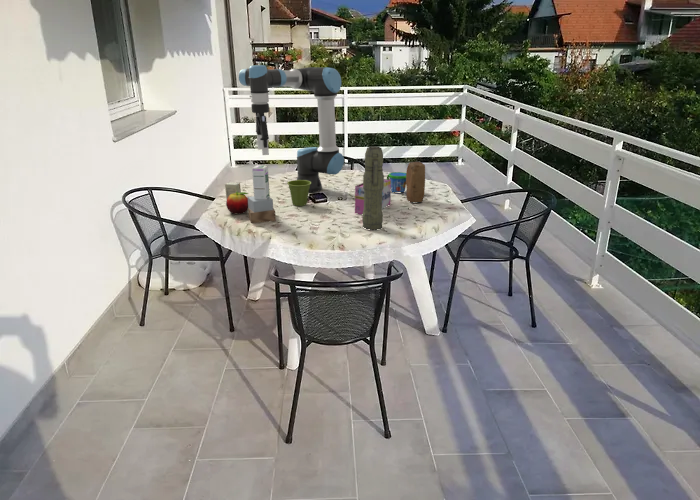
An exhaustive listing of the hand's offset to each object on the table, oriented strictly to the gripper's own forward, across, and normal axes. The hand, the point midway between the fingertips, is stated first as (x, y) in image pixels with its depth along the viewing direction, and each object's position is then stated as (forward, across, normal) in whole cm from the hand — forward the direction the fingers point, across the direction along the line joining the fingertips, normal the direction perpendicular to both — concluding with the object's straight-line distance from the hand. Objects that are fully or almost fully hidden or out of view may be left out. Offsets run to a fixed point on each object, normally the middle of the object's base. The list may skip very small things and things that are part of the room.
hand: (263, 152), depth 234 cm
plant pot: (+30, -14, +19) cm, 38 cm away
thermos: (+30, +31, +41) cm, 60 cm away
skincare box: (+30, -17, -13) cm, 37 cm away
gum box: (+31, +5, +51) cm, 60 cm away
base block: (+30, +4, -3) cm, 30 cm away
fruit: (+30, -8, -12) cm, 33 cm away
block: (+31, -3, +76) cm, 83 cm away
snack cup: (+31, -23, +76) cm, 85 cm away
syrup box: (+20, +4, -3) cm, 21 cm away
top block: (+25, +4, -3) cm, 26 cm away
